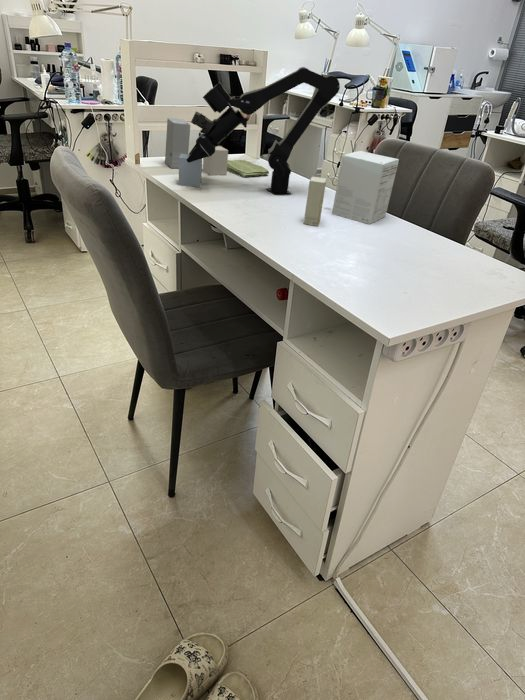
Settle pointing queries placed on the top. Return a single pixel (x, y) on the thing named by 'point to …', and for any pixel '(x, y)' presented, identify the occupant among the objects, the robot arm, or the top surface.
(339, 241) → the top surface
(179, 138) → the skincare box
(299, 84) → the robot arm
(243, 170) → the washcloth
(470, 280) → the top surface
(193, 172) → the blue box
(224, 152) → the taupe cardboard box
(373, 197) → the supplement box
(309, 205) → the skincare box
